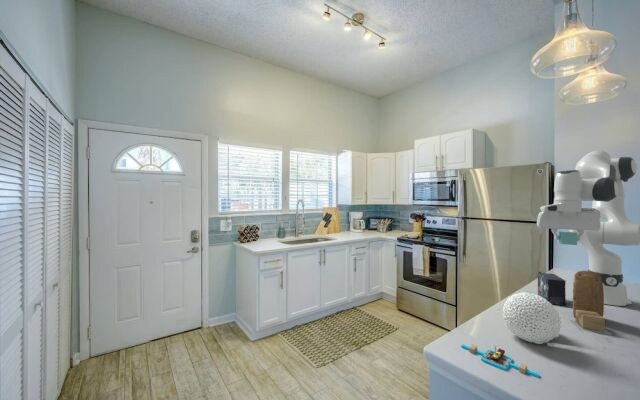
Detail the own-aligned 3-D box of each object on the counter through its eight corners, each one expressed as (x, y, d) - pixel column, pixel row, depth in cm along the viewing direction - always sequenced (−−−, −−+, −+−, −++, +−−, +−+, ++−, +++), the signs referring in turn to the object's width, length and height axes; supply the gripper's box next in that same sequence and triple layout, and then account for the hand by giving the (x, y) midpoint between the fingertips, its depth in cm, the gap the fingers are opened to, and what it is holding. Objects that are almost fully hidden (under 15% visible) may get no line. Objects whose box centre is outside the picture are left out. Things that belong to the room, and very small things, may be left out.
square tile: (568, 322, 107) (568, 319, 107) (599, 327, 103) (599, 324, 103) (579, 332, 99) (579, 329, 99) (612, 338, 95) (612, 334, 95)
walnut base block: (575, 322, 105) (575, 309, 105) (596, 325, 102) (596, 312, 102) (582, 328, 99) (582, 315, 99) (604, 332, 97) (604, 318, 97)
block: (595, 327, 103) (596, 276, 103) (570, 320, 109) (570, 271, 109) (606, 322, 108) (607, 272, 108) (581, 315, 114) (582, 268, 114)
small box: (537, 294, 139) (537, 272, 139) (553, 296, 136) (553, 273, 136) (547, 304, 127) (548, 278, 127) (566, 306, 124) (566, 280, 124)
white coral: (579, 333, 81) (540, 281, 91) (517, 349, 86) (488, 299, 96) (567, 337, 95) (536, 292, 105) (516, 351, 101) (490, 307, 111)
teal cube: (557, 242, 117) (557, 231, 117) (572, 243, 115) (572, 232, 115) (561, 244, 113) (561, 232, 113) (577, 245, 111) (577, 233, 111)
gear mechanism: (468, 342, 92) (457, 352, 86) (468, 326, 92) (457, 335, 86) (542, 370, 77) (535, 385, 71) (542, 351, 77) (536, 364, 71)
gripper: (596, 208, 113) (596, 241, 112) (535, 207, 121) (535, 237, 121) (604, 208, 107) (603, 243, 107) (540, 206, 116) (539, 238, 115)
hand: (566, 240), depth 114 cm, fingers closed on teal cube, 5 cm apart
